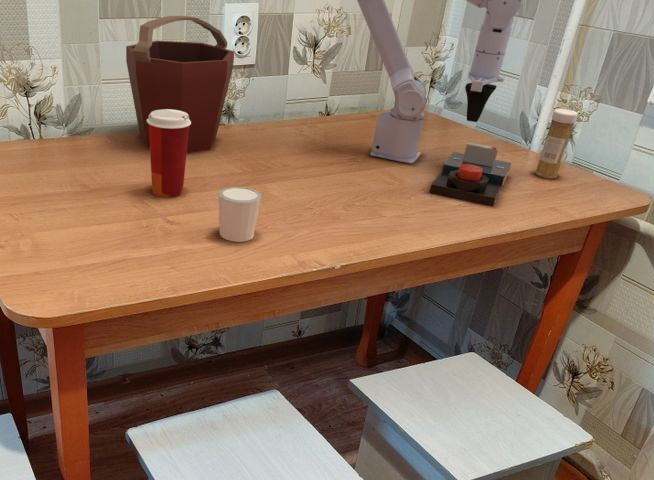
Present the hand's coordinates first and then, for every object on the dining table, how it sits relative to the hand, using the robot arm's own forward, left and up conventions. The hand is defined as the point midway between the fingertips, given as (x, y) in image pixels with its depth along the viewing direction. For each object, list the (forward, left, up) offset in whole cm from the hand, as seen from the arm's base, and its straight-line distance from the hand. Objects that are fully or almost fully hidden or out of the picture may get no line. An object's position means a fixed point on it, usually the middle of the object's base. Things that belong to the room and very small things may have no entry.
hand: (472, 120), depth 147 cm
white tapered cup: (-25, -61, -10) cm, 67 cm away
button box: (+4, -18, -9) cm, 21 cm away
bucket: (-58, -23, -10) cm, 63 cm away
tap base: (+4, -7, -9) cm, 12 cm away
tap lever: (+4, -7, -6) cm, 10 cm away
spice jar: (+17, +4, -10) cm, 20 cm away
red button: (+4, -18, -6) cm, 19 cm away
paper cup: (-44, -51, -10) cm, 68 cm away
